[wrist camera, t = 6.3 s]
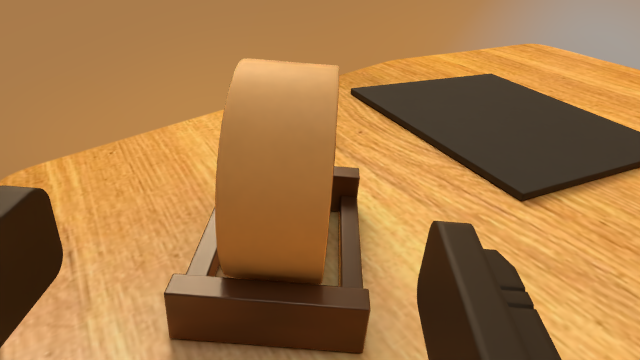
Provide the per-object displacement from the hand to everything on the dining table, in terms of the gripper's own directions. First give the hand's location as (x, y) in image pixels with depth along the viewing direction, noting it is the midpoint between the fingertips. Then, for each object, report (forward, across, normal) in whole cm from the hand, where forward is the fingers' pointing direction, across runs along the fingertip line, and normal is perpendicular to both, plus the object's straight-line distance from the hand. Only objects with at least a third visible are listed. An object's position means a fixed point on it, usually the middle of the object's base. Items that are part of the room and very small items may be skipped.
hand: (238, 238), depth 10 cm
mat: (+33, -18, +9) cm, 39 cm away
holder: (+11, 0, +9) cm, 14 cm away
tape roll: (+11, 0, +9) cm, 14 cm away
